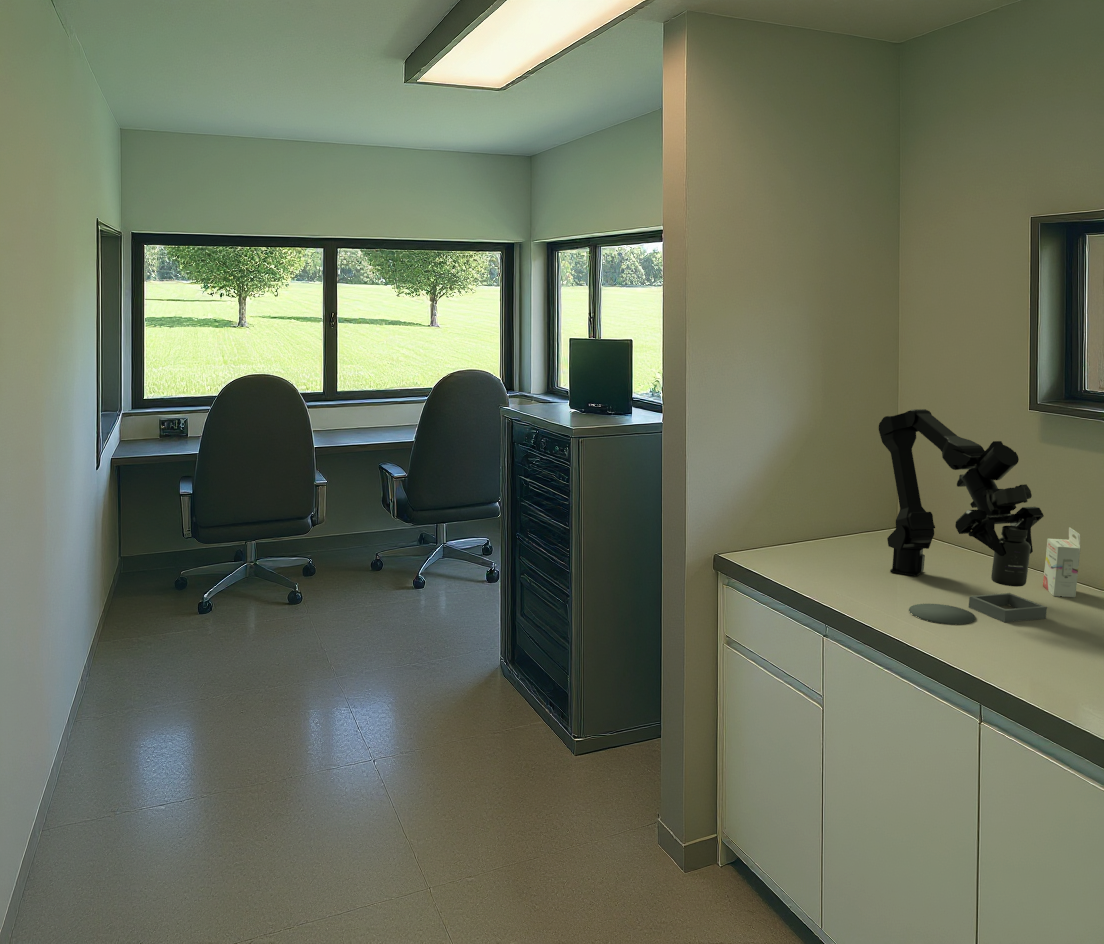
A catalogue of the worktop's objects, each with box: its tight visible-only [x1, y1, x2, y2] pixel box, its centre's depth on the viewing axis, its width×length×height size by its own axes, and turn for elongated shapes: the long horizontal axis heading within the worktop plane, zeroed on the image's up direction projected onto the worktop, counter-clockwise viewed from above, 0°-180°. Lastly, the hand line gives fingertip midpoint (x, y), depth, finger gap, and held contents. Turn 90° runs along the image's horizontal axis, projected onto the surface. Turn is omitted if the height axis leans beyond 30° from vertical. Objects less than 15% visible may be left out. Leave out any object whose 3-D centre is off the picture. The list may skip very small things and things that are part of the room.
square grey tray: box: [968, 592, 1048, 623], centre depth 203 cm, size 11×11×2 cm
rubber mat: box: [908, 603, 976, 625], centre depth 201 cm, size 13×13×1 cm
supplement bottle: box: [990, 525, 1031, 588], centre depth 201 cm, size 7×7×12 cm
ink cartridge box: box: [1042, 526, 1081, 598], centre depth 218 cm, size 9×5×15 cm, turn 168°
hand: (1016, 554), depth 200 cm, fingers closed on supplement bottle, 7 cm apart
